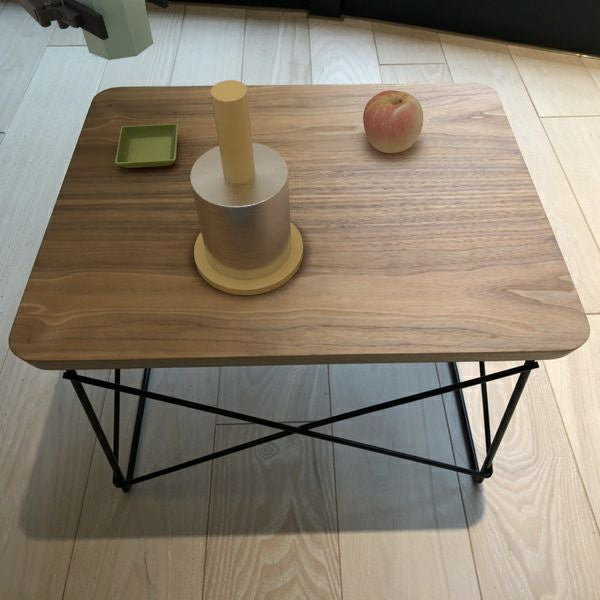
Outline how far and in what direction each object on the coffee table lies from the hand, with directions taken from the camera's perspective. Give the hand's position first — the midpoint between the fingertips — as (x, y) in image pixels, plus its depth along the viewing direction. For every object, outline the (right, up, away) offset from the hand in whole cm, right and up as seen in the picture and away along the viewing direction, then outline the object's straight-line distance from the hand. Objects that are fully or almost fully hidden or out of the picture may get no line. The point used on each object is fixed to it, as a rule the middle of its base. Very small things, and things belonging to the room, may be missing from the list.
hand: (134, 11), depth 72 cm
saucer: (-3, -12, +21) cm, 24 cm away
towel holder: (+13, -28, +8) cm, 31 cm away
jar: (-3, -1, +6) cm, 7 cm away
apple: (+33, -10, +21) cm, 40 cm away
